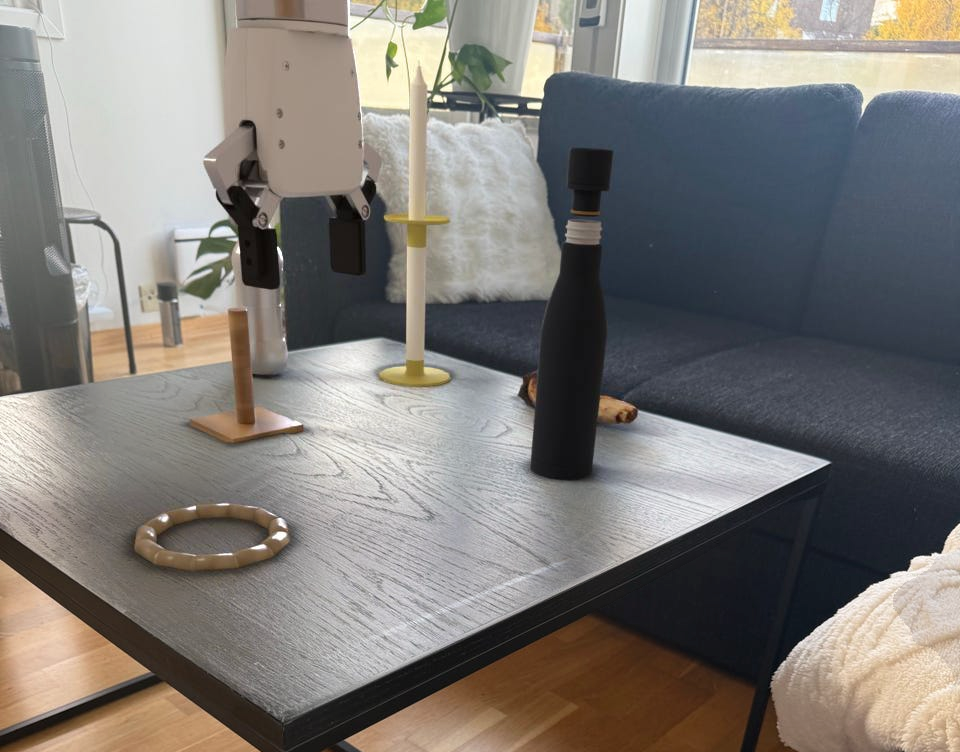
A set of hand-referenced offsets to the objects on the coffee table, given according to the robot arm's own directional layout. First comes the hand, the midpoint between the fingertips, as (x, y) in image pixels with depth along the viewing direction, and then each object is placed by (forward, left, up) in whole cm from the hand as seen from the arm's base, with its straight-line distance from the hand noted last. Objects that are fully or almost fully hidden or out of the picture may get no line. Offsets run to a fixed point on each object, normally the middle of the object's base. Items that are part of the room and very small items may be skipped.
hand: (307, 279), depth 70 cm
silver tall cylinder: (+26, +48, -21) cm, 59 cm away
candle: (+42, +35, -21) cm, 59 cm away
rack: (+10, +27, -21) cm, 36 cm away
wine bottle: (+28, -4, -21) cm, 35 cm away
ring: (-9, +2, -20) cm, 22 cm away
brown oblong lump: (+44, +9, -21) cm, 50 cm away
